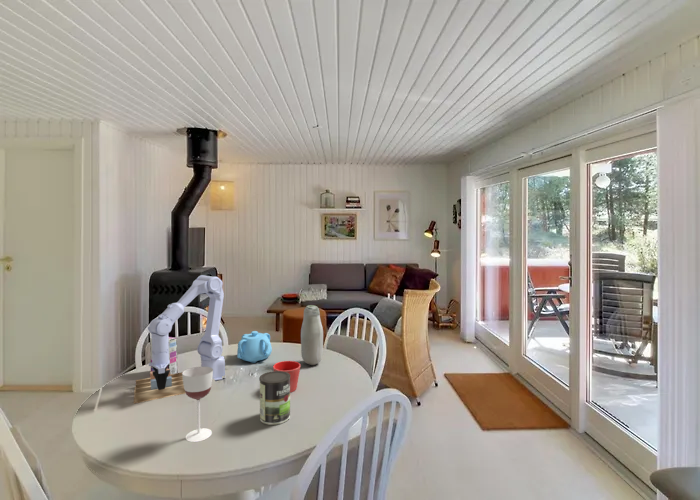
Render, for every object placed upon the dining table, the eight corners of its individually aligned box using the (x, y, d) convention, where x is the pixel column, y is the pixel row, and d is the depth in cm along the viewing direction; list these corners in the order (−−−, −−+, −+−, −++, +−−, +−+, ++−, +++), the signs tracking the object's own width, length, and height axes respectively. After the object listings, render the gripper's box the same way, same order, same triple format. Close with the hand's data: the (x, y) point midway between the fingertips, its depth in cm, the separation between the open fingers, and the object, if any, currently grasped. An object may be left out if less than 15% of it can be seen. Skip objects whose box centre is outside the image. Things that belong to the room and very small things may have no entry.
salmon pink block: (170, 382, 148) (169, 368, 148) (170, 384, 147) (170, 370, 146) (150, 386, 145) (150, 371, 145) (150, 388, 143) (150, 373, 143)
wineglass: (188, 428, 116) (187, 367, 115) (216, 427, 117) (216, 366, 116) (179, 442, 108) (178, 377, 107) (209, 441, 109) (208, 376, 108)
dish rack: (184, 380, 153) (184, 371, 153) (188, 395, 140) (188, 385, 139) (134, 389, 145) (134, 379, 144) (133, 406, 131) (133, 395, 130)
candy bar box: (178, 374, 160) (177, 337, 159) (169, 378, 155) (168, 341, 154) (159, 370, 164) (159, 334, 163) (150, 374, 159) (149, 337, 158)
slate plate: (171, 391, 141) (171, 376, 141) (172, 393, 139) (171, 378, 139) (151, 395, 137) (150, 379, 137) (151, 397, 136) (150, 381, 135)
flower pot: (306, 388, 146) (306, 365, 145) (283, 397, 138) (283, 372, 137) (289, 381, 153) (289, 358, 153) (267, 389, 145) (267, 365, 145)
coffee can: (296, 414, 125) (296, 374, 124) (275, 428, 116) (275, 385, 116) (274, 407, 131) (274, 368, 130) (253, 419, 122) (252, 378, 121)
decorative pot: (242, 353, 188) (242, 327, 187) (273, 353, 189) (273, 327, 188) (233, 365, 172) (233, 336, 171) (268, 364, 172) (267, 336, 172)
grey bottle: (326, 362, 175) (326, 304, 174) (313, 369, 167) (313, 308, 165) (310, 358, 181) (310, 302, 179) (297, 364, 172) (296, 306, 170)
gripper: (148, 346, 142) (148, 380, 142) (148, 358, 129) (149, 395, 130) (168, 344, 145) (169, 377, 146) (170, 354, 133) (171, 391, 133)
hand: (161, 385), depth 138 cm, fingers open, 6 cm apart
